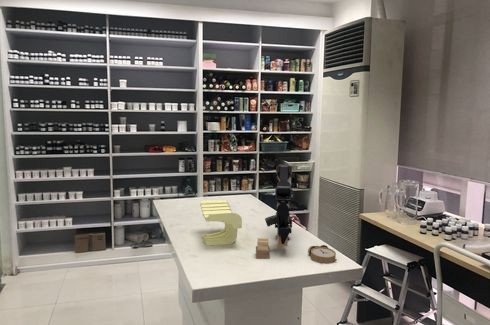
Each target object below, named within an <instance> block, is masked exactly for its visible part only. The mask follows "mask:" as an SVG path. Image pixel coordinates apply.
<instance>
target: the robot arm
mask: <svg viewBox="0 0 490 325" xmlns="http://www.w3.org/2000/svg"><path fill="white" fill-rule="evenodd" d="M275 169H276V170H275V173H276V174H277V176H276V177H277V179H278V180H279V181H278V182H277V183H276V186H275V194H274V197H275V198H274V200H275V201H276V204H277V205H276V212H275V214H274V215H271V216H267V217H265V218H264V220H265V224H266V226H267V227H271V226H273V225H274V229H277V231H276V235H275V239H277V235H278V233H279V234H280V236H281V242H282V244H284V243H285V241H286V239H287V237H288V241H290V237H289V235H291V234H292V233H293V232H292V230H293V229H292V228H293V219H292V217H291V215H290V202H292V200H293V199H294V197H293V196H294V193H293V192H294V191H293V188H292V187H291V183H290V182H289V181H290V178H291V175H292V174H293V166H292V165H289V164H288V163H280V164H278V165H276V168H275Z"/></svg>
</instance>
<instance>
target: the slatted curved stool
mask: <svg viewBox="0 0 490 325" xmlns="http://www.w3.org/2000/svg"><path fill="white" fill-rule="evenodd" d="M199 204H200V208H201V213H202V217H203V218H204V220H205V222H219V223H224V228H223V229H222V230H220V231H218V232H213V233H203V234H202V239H203V241H204V244H205V245H206V246H214V245H217V246H218V245H227V244H228V245H230V244H233V243H235V241H236V240H237V238H238V229H242V228H243V226H242V224H243V220H242V216H241V215H240V214H239V213H235V212H232V209H231V206H230V204H229V202H228V201H227V200H225V199H215V200H214V199H211V200H209V199H208V200H200V201H199Z"/></svg>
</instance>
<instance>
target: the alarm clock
mask: <svg viewBox="0 0 490 325" xmlns="http://www.w3.org/2000/svg"><path fill="white" fill-rule="evenodd" d="M307 253H308V255H309V256H310V260H312V261H313V262H315V263H318V264H331V263H334V262H335V261H337V258H336V256H337V252H336V251H335V250H334V249H333V248H329V247H328V246H327V245H326V244H321V245H311V246H309V247H308V248H307Z"/></svg>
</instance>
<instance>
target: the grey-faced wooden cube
mask: <svg viewBox="0 0 490 325" xmlns="http://www.w3.org/2000/svg"><path fill="white" fill-rule="evenodd" d="M276 235H277V234H276ZM288 237H289V236H288ZM288 237H287V239H286V241H285V243H284V244H282V242H281V236H280V234H279V233H278V235H277V238H276V240H277V241H276V243H277V246H278V247H288V241H289V240H288Z"/></svg>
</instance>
